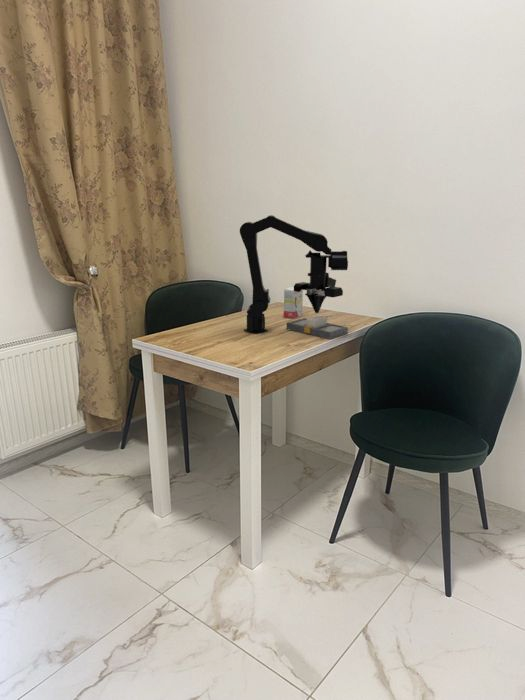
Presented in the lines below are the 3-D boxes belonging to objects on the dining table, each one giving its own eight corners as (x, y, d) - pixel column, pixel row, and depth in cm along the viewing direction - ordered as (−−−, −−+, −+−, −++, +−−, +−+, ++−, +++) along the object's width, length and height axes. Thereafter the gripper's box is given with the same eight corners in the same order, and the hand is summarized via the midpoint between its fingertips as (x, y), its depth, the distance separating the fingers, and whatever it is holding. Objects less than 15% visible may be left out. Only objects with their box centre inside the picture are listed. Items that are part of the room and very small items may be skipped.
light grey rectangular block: (314, 332, 180) (315, 320, 179) (306, 330, 183) (306, 319, 181) (326, 329, 185) (326, 317, 184) (318, 327, 188) (318, 315, 186)
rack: (329, 339, 173) (329, 332, 172) (286, 329, 187) (286, 322, 186) (347, 333, 181) (347, 326, 180) (304, 324, 194) (304, 317, 194)
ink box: (293, 318, 204) (293, 290, 200) (283, 317, 206) (283, 289, 203) (303, 314, 211) (303, 287, 207) (292, 313, 213) (293, 286, 210)
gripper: (352, 270, 176) (350, 313, 181) (312, 265, 189) (311, 305, 194) (334, 273, 169) (332, 318, 173) (292, 268, 181) (292, 310, 186)
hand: (316, 312), depth 182 cm, fingers closed
